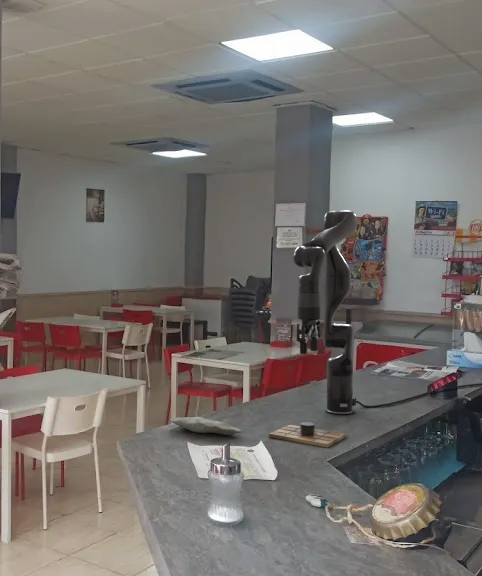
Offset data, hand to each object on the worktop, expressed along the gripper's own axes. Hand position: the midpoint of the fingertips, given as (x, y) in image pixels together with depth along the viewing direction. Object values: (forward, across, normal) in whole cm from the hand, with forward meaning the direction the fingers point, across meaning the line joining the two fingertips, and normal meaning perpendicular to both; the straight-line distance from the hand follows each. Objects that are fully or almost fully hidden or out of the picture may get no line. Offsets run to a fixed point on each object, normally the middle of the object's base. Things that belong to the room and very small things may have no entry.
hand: (308, 352), depth 246 cm
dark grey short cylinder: (+25, -12, -5) cm, 28 cm away
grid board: (+26, -12, -5) cm, 29 cm away
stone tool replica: (+26, -27, +24) cm, 45 cm away
